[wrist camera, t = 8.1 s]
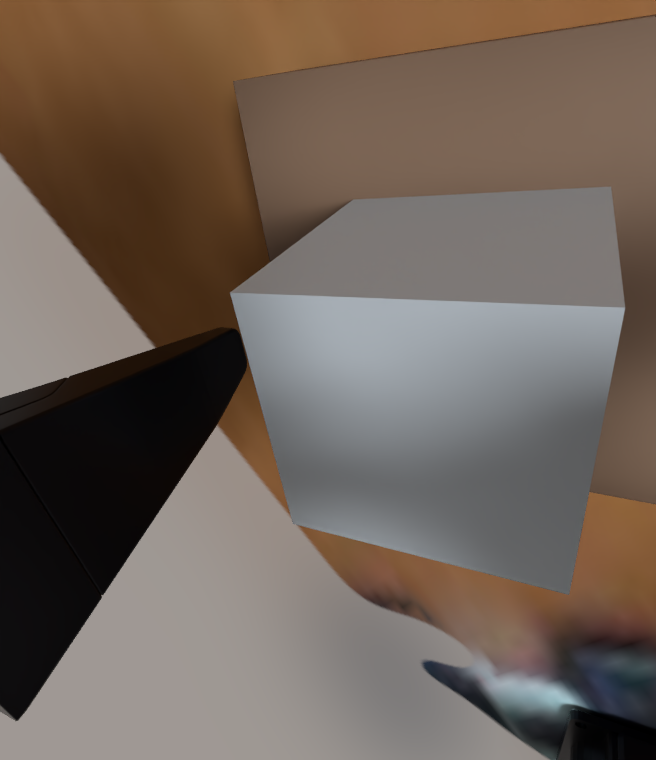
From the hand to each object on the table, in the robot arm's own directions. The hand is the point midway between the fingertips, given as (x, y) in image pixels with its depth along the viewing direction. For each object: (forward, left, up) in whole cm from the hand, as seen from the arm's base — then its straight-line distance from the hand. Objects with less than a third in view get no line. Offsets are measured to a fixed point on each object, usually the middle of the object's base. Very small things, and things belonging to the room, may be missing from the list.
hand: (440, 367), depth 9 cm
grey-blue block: (0, 0, -3) cm, 3 cm away
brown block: (0, 0, -6) cm, 6 cm away
